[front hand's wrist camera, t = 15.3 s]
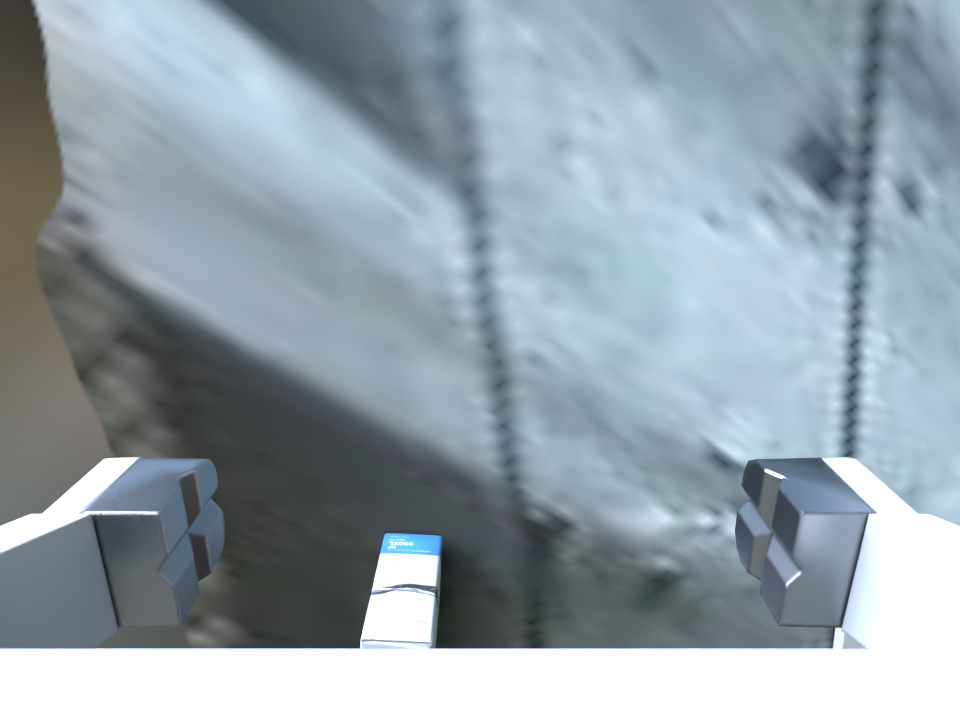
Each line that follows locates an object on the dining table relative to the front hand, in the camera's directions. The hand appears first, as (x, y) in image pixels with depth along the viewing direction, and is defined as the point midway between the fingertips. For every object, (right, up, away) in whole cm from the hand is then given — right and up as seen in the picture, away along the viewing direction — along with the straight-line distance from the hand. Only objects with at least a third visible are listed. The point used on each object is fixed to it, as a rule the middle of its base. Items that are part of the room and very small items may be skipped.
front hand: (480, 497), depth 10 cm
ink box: (-6, -16, +45) cm, 48 cm away
